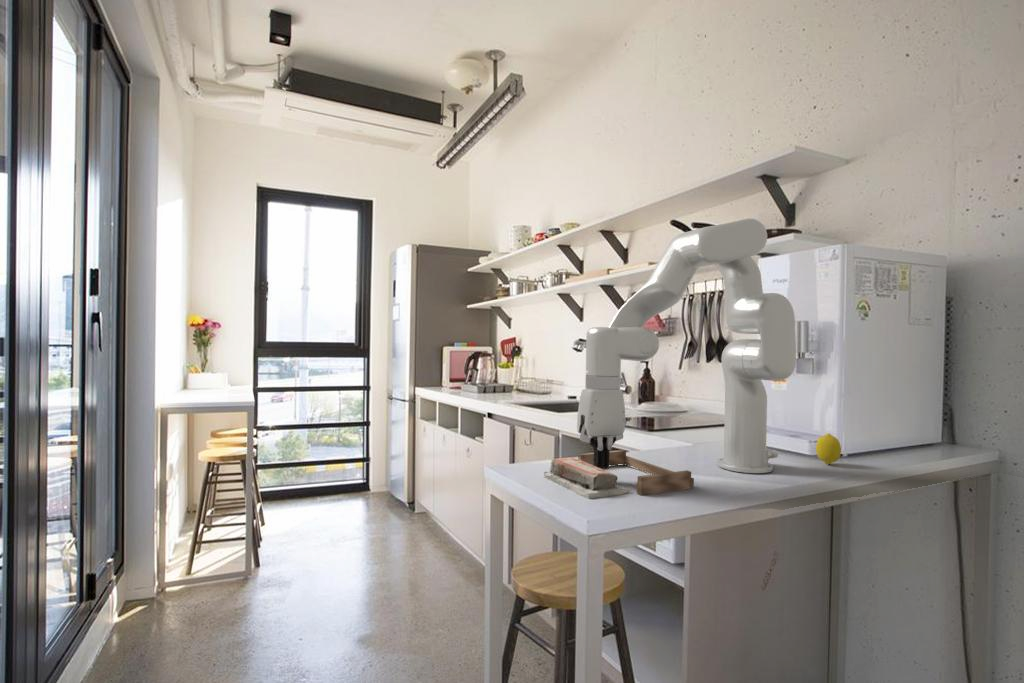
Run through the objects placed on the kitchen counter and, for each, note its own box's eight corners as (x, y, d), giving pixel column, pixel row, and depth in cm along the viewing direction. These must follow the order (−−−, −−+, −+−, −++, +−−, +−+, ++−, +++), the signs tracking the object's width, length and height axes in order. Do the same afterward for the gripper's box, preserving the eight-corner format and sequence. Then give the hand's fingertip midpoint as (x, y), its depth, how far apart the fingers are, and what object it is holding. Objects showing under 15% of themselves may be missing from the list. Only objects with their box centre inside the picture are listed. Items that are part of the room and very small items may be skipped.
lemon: (840, 468, 132) (841, 436, 132) (815, 465, 135) (815, 434, 135) (840, 464, 137) (841, 433, 137) (815, 461, 140) (816, 430, 140)
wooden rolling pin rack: (625, 463, 134) (625, 449, 134) (693, 487, 113) (694, 471, 113) (578, 468, 128) (578, 454, 128) (641, 495, 107) (641, 477, 107)
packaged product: (542, 457, 120) (579, 454, 124) (542, 479, 120) (579, 474, 124) (588, 476, 104) (629, 472, 108) (587, 501, 104) (628, 496, 108)
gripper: (620, 381, 123) (618, 460, 123) (564, 382, 117) (562, 466, 117) (641, 384, 116) (639, 468, 116) (583, 386, 110) (581, 474, 110)
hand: (601, 467), depth 116 cm, fingers closed
